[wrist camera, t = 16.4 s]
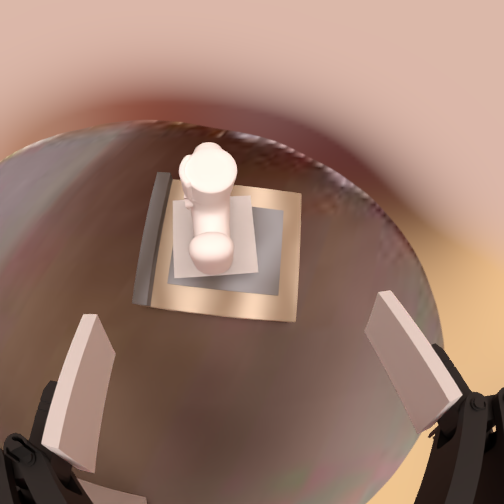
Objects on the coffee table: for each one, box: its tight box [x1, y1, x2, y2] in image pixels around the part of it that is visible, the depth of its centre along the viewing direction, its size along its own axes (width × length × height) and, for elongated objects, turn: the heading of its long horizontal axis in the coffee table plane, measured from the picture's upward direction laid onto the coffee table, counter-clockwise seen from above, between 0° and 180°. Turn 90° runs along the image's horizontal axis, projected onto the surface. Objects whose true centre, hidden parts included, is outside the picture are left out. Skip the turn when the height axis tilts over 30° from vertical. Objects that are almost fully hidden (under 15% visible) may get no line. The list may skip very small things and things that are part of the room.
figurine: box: [173, 142, 259, 278], centre depth 21 cm, size 7×9×15 cm
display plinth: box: [132, 172, 301, 322], centre depth 30 cm, size 16×14×6 cm
